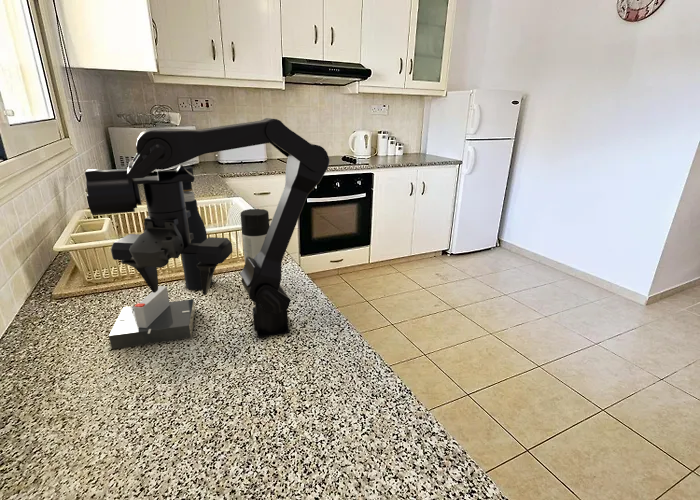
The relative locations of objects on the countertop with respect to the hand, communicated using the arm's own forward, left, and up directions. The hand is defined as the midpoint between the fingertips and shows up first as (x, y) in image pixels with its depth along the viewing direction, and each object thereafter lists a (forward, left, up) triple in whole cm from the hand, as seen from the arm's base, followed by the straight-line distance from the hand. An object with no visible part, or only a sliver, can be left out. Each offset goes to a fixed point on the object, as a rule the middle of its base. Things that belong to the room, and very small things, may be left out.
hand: (180, 292), depth 67 cm
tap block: (+7, -9, -12) cm, 17 cm away
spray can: (-15, -23, -12) cm, 30 cm away
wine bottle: (0, -28, -12) cm, 31 cm away
